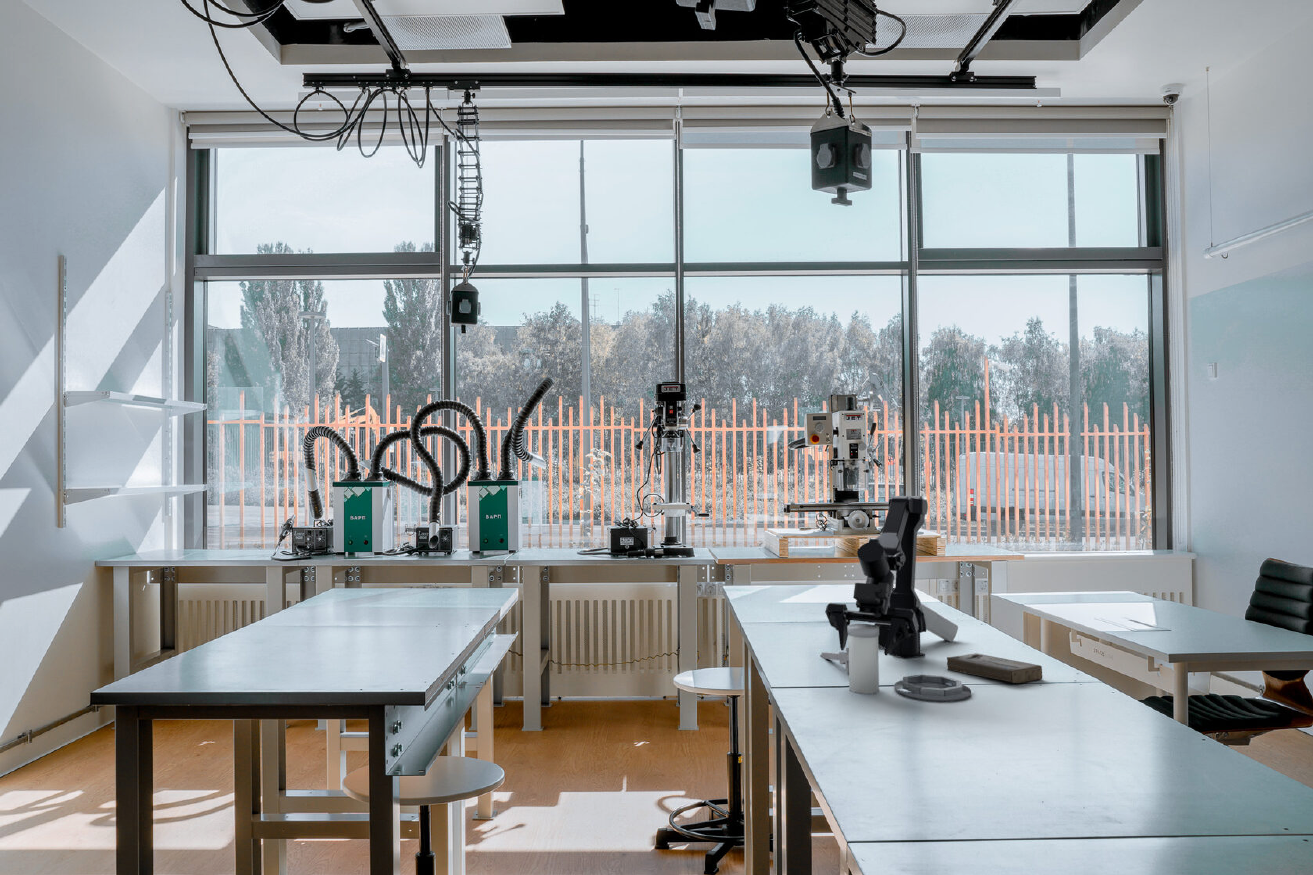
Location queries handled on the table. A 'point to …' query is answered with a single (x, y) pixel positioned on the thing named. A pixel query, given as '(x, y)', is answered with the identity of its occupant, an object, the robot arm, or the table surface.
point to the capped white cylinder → (863, 658)
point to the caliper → (838, 657)
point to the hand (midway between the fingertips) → (863, 651)
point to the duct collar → (932, 688)
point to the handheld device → (933, 624)
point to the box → (995, 668)
